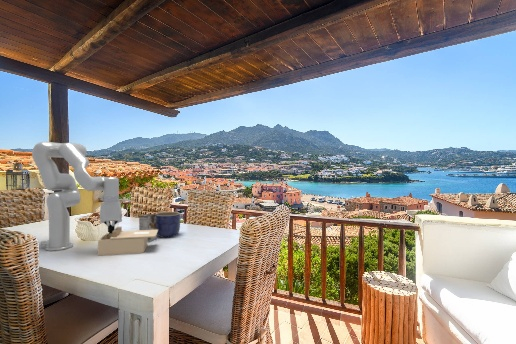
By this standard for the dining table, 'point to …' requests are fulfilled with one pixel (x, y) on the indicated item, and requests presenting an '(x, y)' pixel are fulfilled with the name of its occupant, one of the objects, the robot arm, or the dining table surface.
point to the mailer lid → (132, 233)
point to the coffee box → (148, 224)
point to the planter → (167, 224)
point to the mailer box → (120, 245)
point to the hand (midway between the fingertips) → (111, 233)
